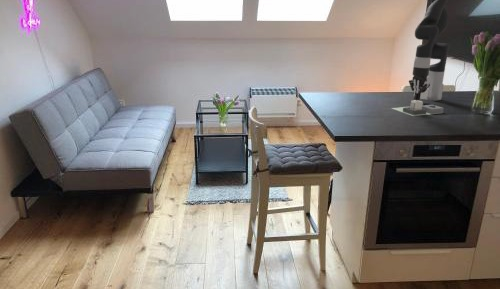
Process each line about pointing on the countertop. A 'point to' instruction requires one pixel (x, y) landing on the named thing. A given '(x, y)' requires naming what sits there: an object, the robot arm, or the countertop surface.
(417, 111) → the header socket
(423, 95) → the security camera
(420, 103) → the plug
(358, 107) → the countertop surface
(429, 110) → the circuit board
